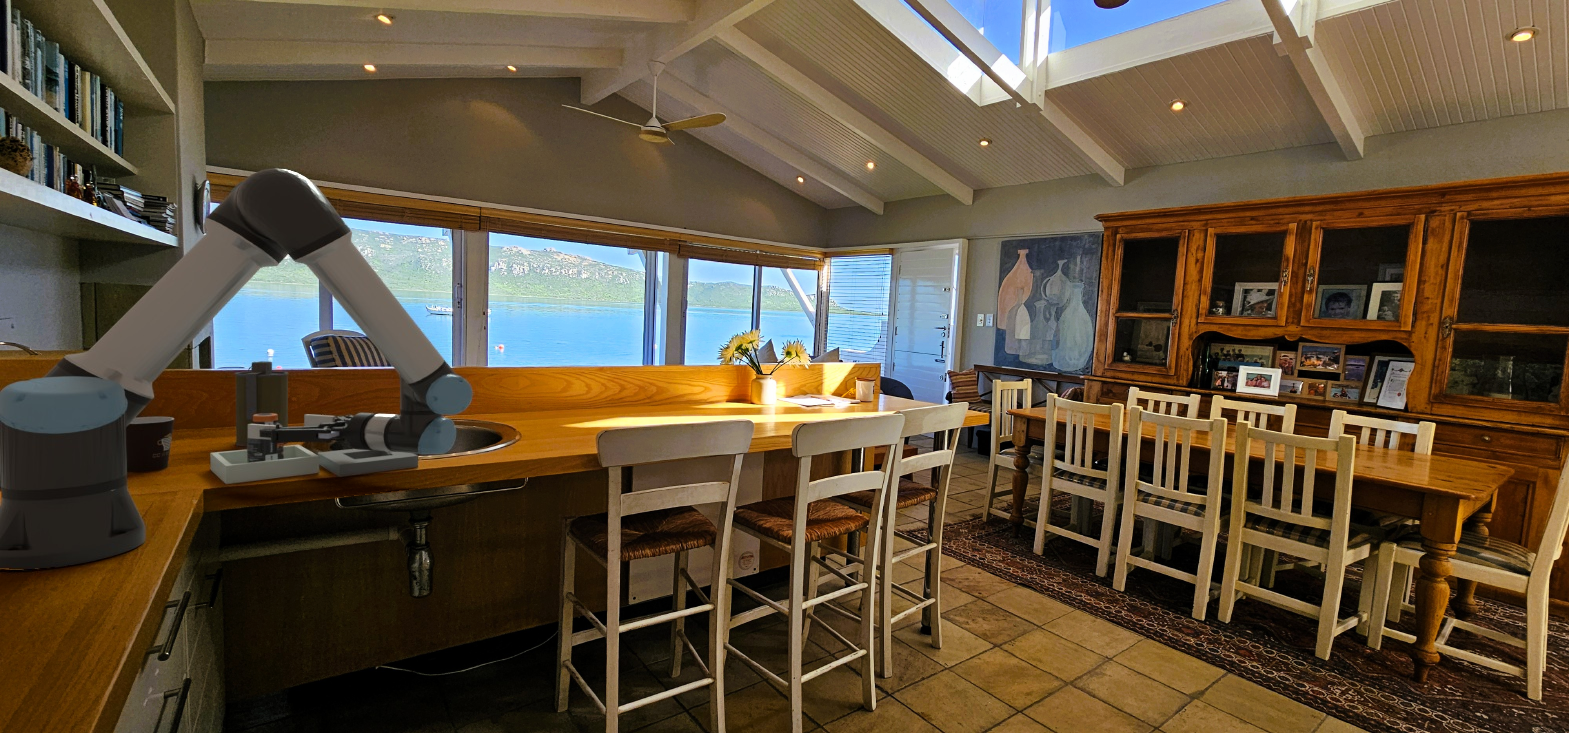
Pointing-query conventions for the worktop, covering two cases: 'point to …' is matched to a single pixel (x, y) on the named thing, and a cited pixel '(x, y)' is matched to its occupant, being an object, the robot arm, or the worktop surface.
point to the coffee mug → (148, 443)
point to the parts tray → (263, 465)
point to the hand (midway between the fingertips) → (278, 425)
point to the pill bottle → (264, 442)
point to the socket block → (365, 461)
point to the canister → (260, 397)
